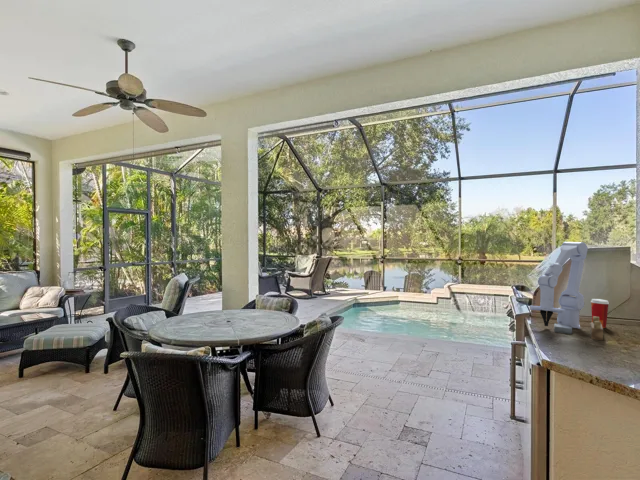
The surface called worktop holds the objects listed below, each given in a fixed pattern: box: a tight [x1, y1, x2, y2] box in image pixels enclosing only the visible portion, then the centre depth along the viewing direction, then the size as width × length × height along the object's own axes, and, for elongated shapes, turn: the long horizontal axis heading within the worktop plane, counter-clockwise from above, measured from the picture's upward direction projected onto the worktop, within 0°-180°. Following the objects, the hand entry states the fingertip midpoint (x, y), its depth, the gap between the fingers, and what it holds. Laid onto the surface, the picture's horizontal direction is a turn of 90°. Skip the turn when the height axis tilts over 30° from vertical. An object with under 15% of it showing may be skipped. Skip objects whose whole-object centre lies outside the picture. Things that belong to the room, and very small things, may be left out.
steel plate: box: [553, 322, 573, 335], centre depth 173 cm, size 7×7×3 cm
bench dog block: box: [589, 316, 604, 342], centre depth 165 cm, size 4×14×8 cm, turn 144°
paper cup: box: [590, 298, 610, 329], centre depth 182 cm, size 8×8×14 cm
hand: (546, 325), depth 177 cm, fingers closed
